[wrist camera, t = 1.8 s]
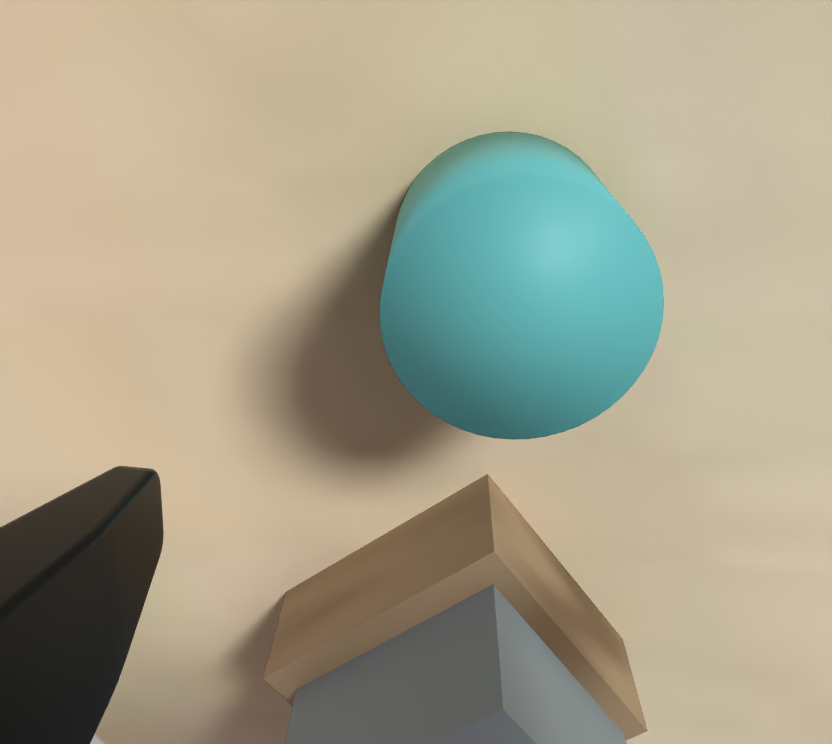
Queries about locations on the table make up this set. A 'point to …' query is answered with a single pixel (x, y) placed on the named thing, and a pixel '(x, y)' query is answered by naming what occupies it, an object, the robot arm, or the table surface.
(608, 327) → the teal rounded dome
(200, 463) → the table surface
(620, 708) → the lower block
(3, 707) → the robot arm
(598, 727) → the upper block
